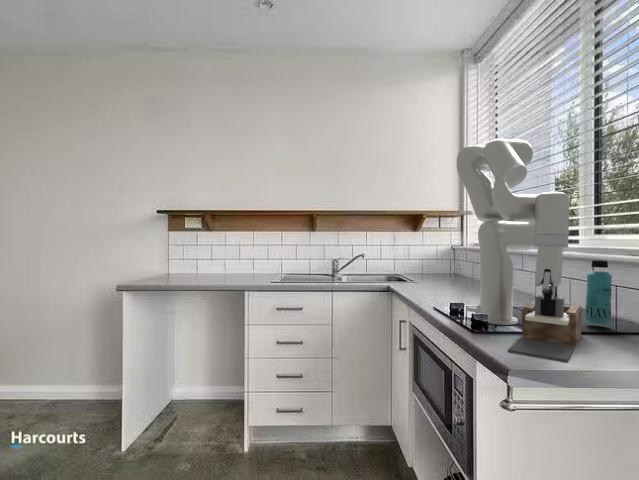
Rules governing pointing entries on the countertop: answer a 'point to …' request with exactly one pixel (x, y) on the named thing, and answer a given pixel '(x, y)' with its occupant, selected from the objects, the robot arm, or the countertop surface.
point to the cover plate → (559, 316)
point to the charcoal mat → (542, 349)
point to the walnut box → (553, 327)
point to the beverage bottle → (598, 294)
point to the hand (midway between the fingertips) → (549, 313)
